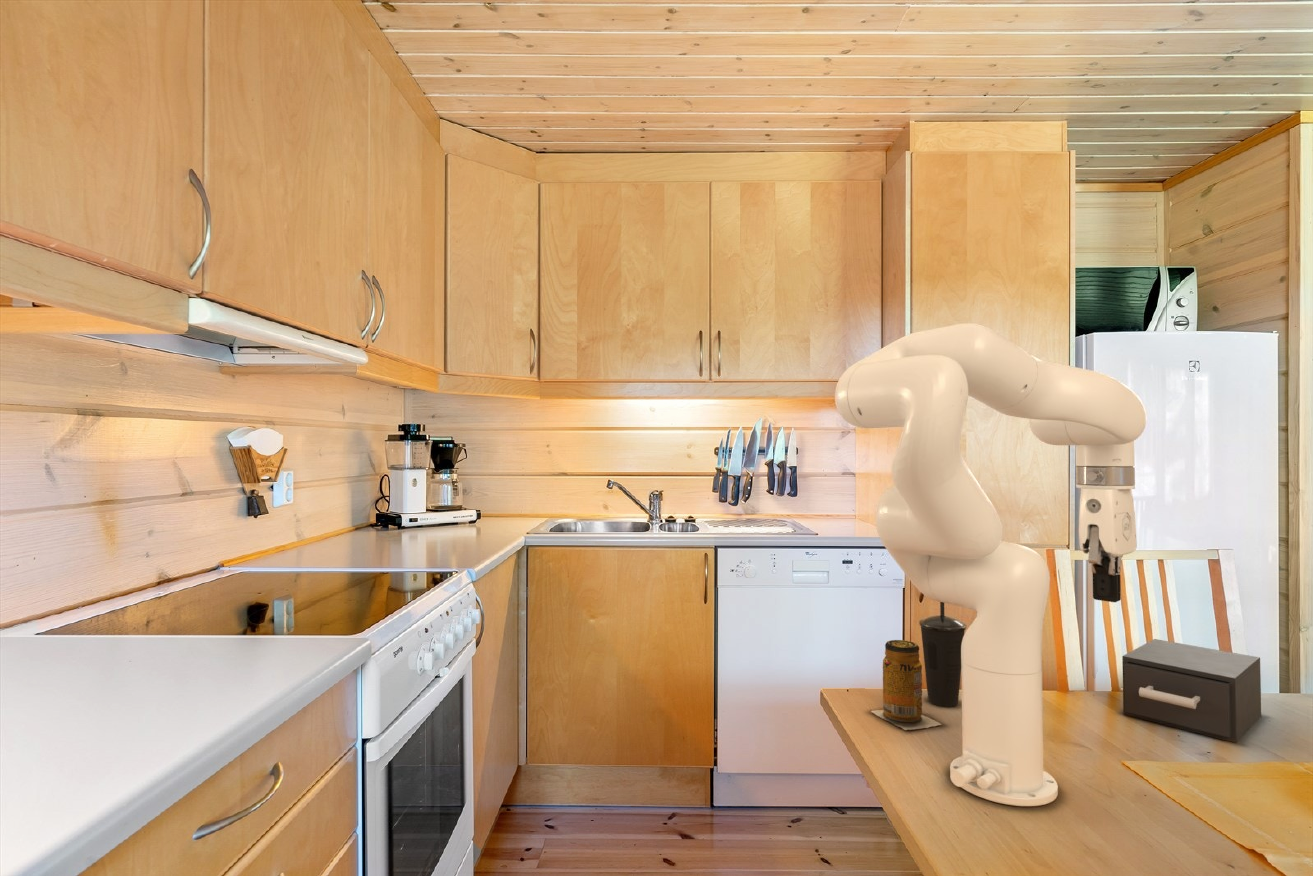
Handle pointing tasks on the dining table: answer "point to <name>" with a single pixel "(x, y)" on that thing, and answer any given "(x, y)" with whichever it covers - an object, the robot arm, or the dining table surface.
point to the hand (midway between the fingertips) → (1106, 600)
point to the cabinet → (1209, 665)
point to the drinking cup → (942, 657)
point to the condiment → (903, 687)
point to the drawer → (1178, 698)
